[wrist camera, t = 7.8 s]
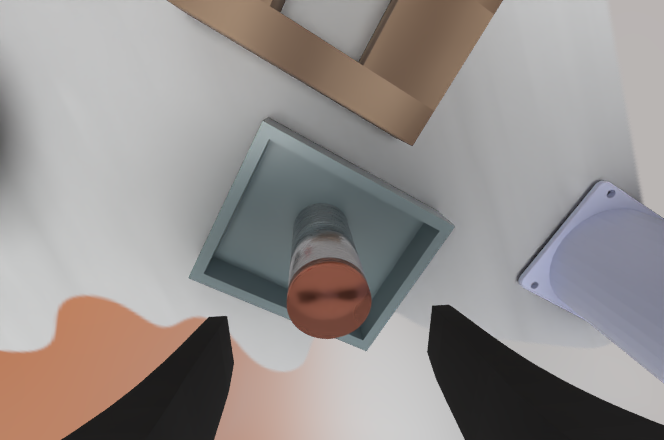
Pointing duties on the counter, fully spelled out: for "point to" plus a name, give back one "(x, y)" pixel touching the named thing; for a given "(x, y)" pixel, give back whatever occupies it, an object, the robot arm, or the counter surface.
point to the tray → (284, 206)
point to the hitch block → (377, 60)
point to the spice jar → (326, 275)
